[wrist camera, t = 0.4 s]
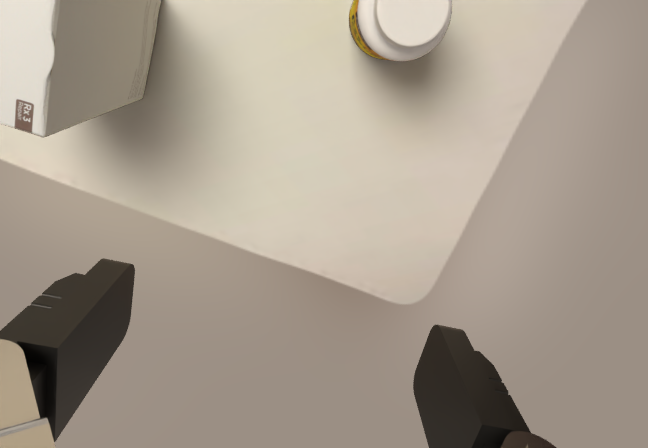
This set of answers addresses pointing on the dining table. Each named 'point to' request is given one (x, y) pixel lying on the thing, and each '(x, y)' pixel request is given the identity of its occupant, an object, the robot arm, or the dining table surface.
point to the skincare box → (72, 60)
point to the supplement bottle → (399, 27)
